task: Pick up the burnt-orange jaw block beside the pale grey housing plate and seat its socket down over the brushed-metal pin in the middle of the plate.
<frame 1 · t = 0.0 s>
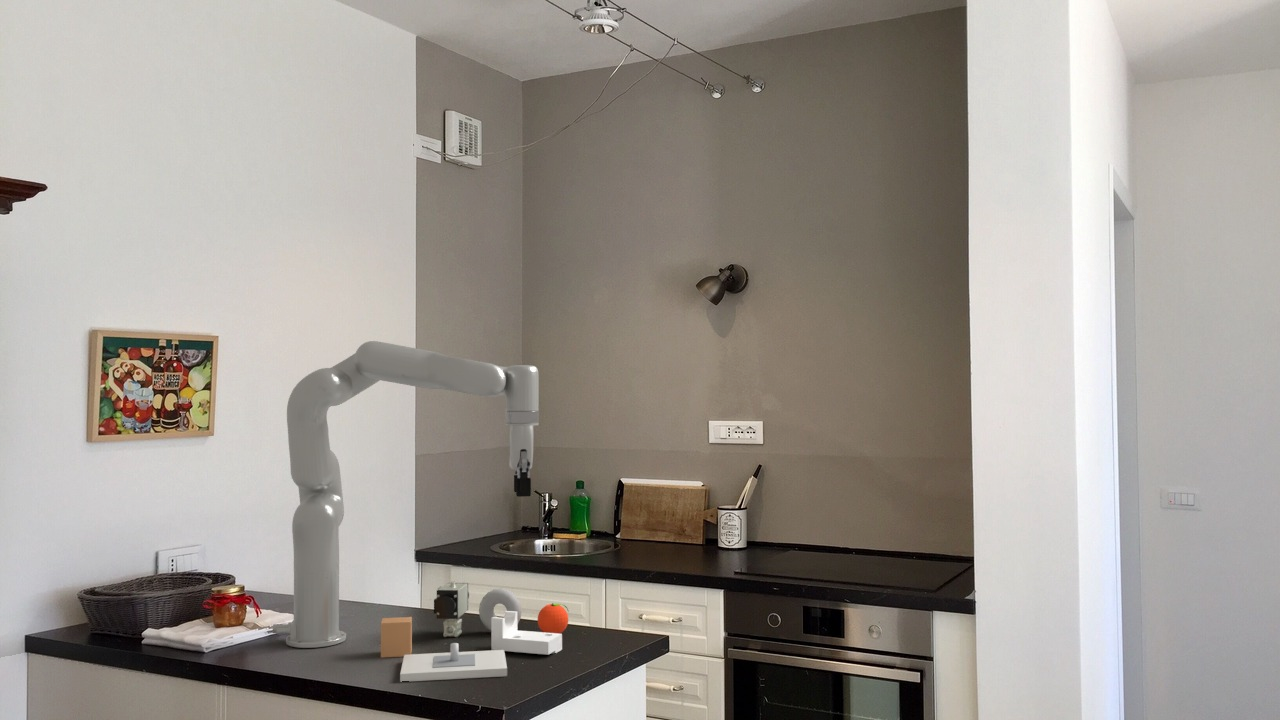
hand: (522, 494, 228), 31 cm above the worktop, tool pointing down, fingers open, 9 cm apart
clementine: (554, 635, 224), on the worktop
jaw block: (396, 653, 209), on the worktop
housing plate: (454, 669, 197), on the worktop
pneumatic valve: (450, 636, 224), on the worktop
bracket: (527, 653, 210), on the worktop
donut: (500, 633, 226), on the worktop
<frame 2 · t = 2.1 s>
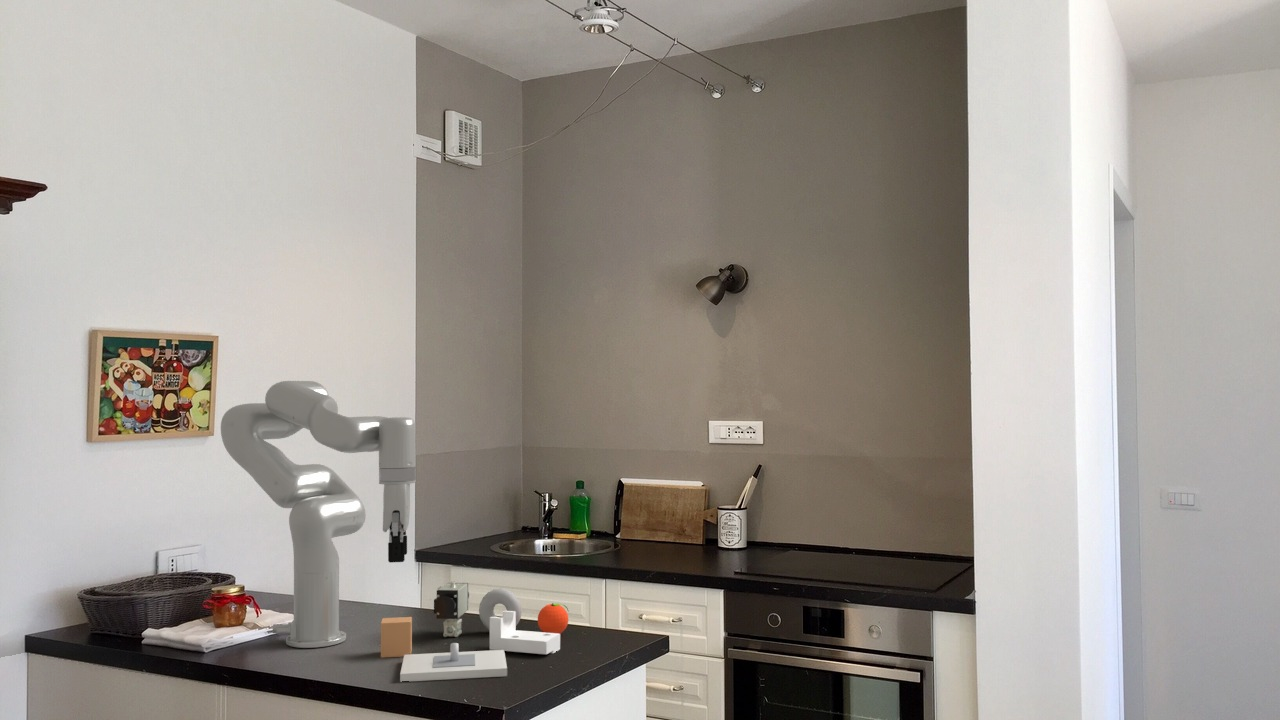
hand: (397, 558, 209), 20 cm above the worktop, tool pointing down, fingers open, 9 cm apart
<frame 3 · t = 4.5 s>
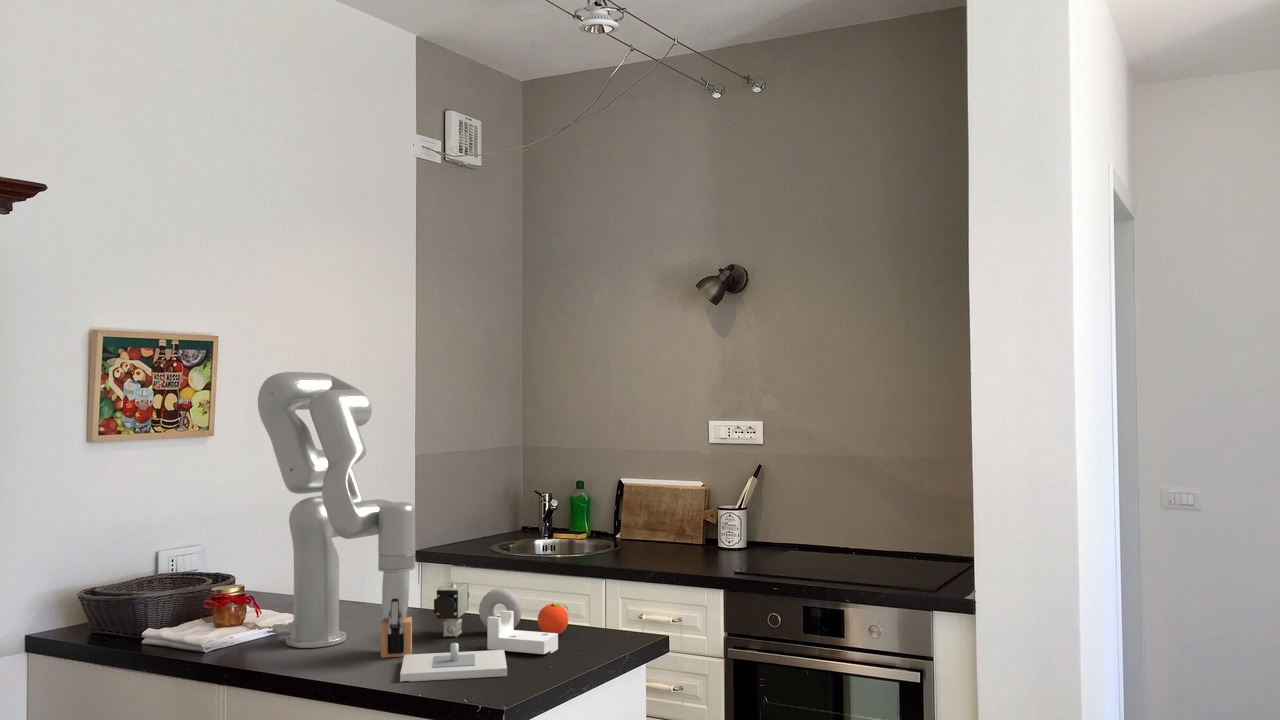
hand: (396, 648, 209), 1 cm above the worktop, tool pointing down, fingers closed on jaw block, 4 cm apart
jaw block: (396, 653, 209), on the worktop, touching gripper
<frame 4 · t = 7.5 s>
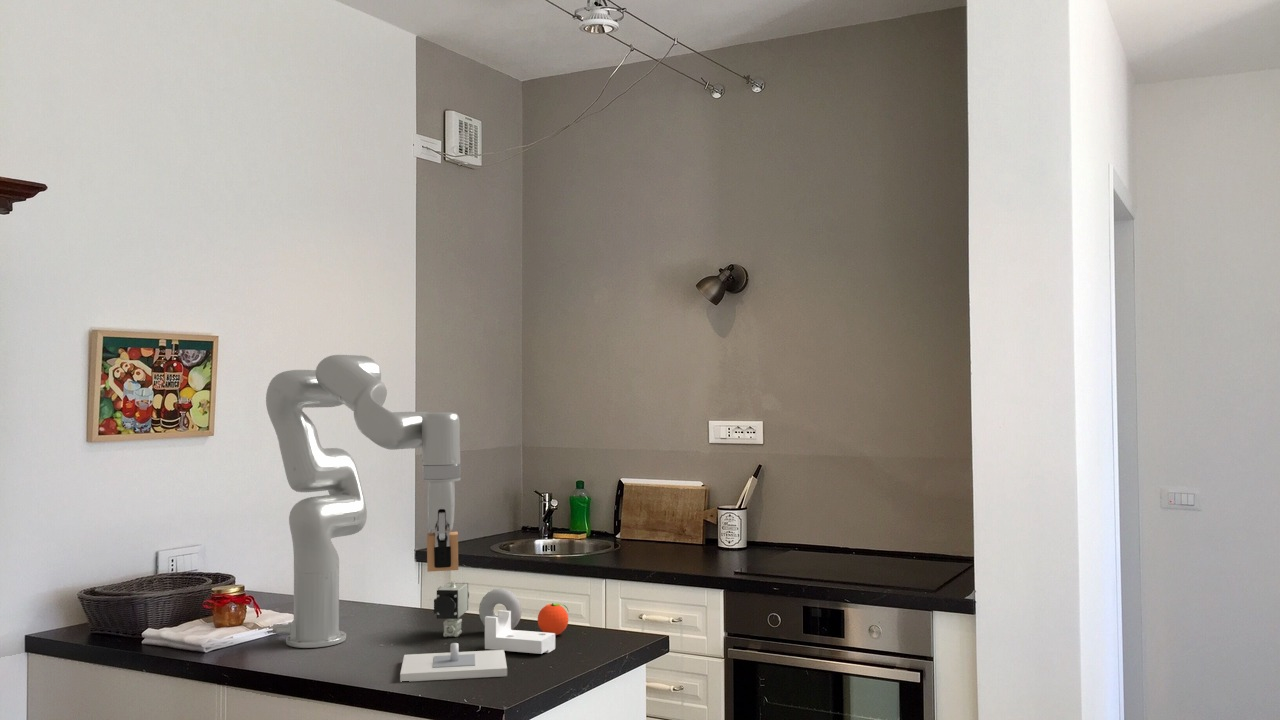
hand: (443, 564, 200), 20 cm above the worktop, tool pointing down, fingers closed on jaw block, 4 cm apart
jaw block: (443, 568, 200), point 19 cm above the worktop, touching gripper
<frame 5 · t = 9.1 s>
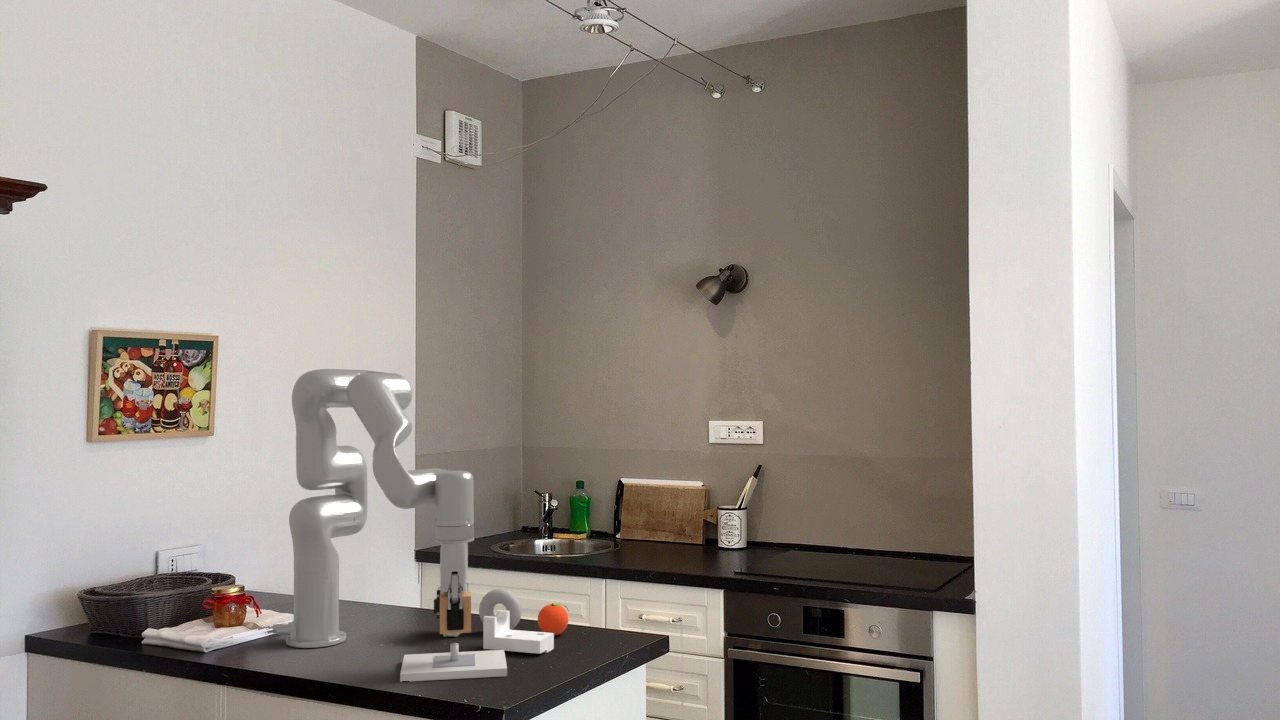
hand: (455, 625, 197), 9 cm above the worktop, tool pointing down, fingers closed on jaw block, 4 cm apart
jaw block: (455, 630, 197), point 8 cm above the worktop, touching gripper
when the fingers open (3 cm above the worktop, at t = 10.6 s): jaw block stays where it is, resting on housing plate.
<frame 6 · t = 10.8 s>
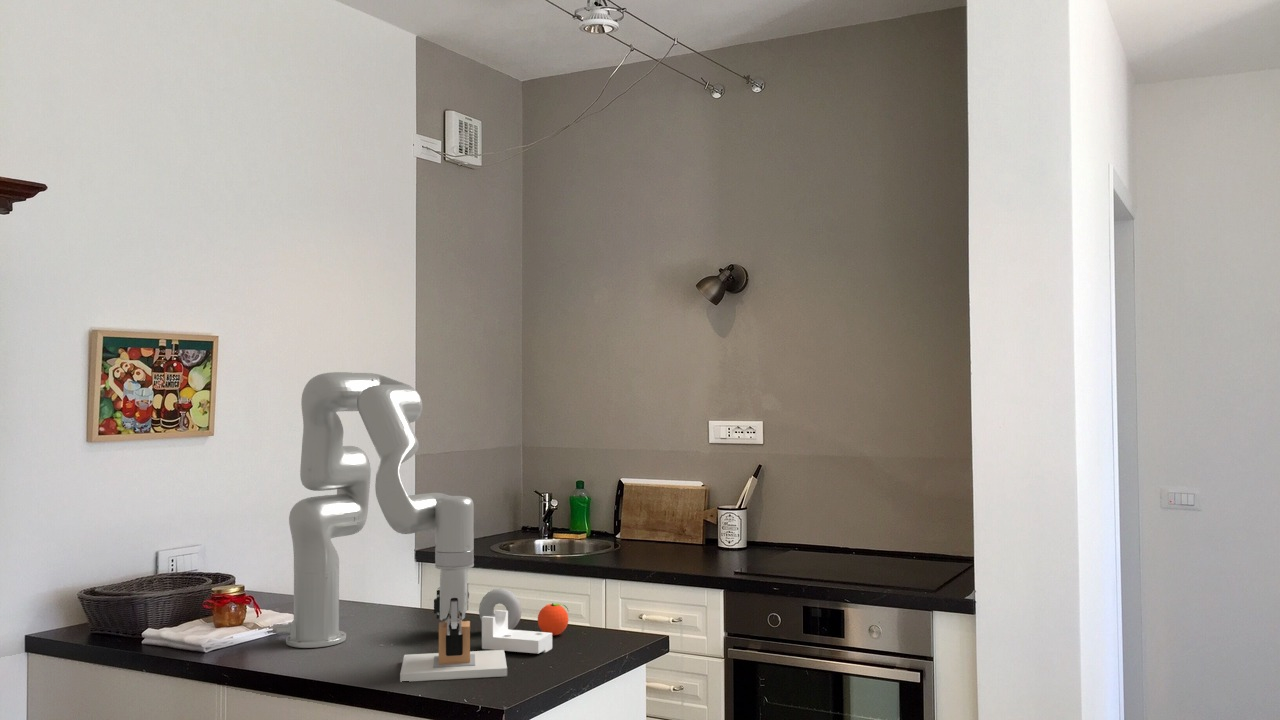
hand: (454, 649, 197), 4 cm above the worktop, tool pointing down, fingers open, 6 cm apart
jaw block: (454, 660, 197), point 2 cm above the worktop, touching housing plate
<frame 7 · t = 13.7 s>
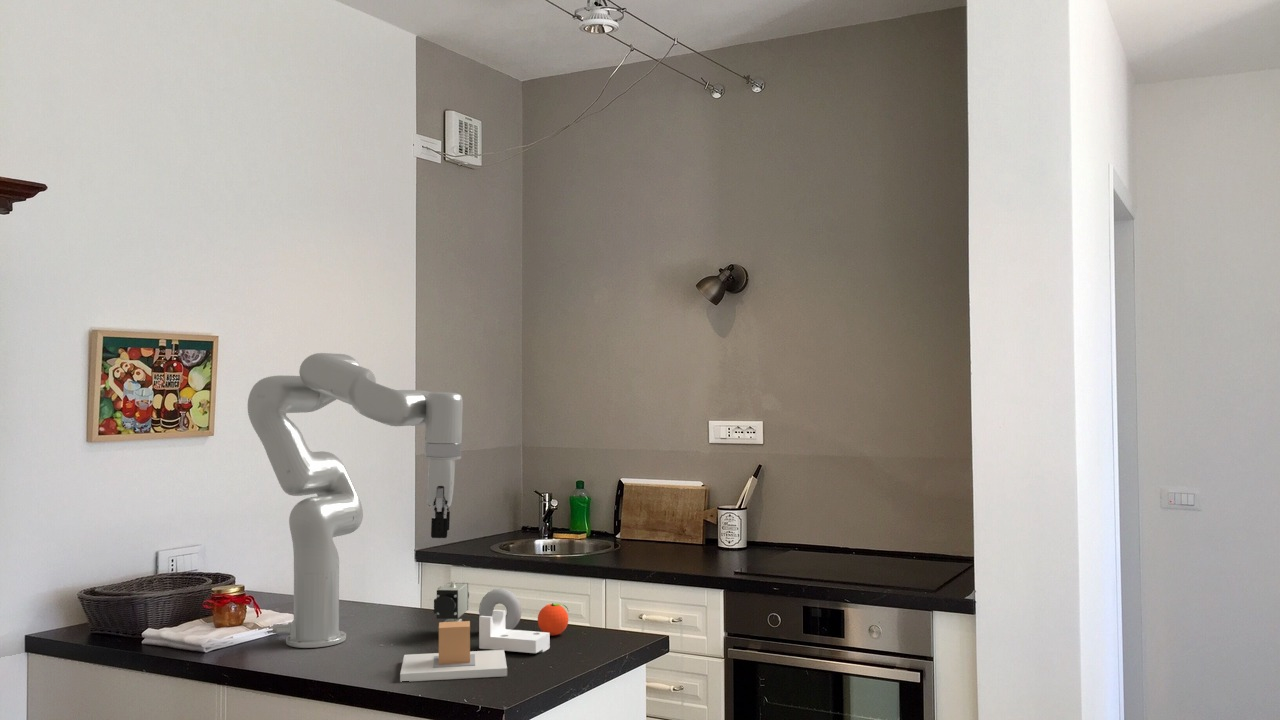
hand: (440, 533, 208), 25 cm above the worktop, tool pointing down, fingers open, 9 cm apart
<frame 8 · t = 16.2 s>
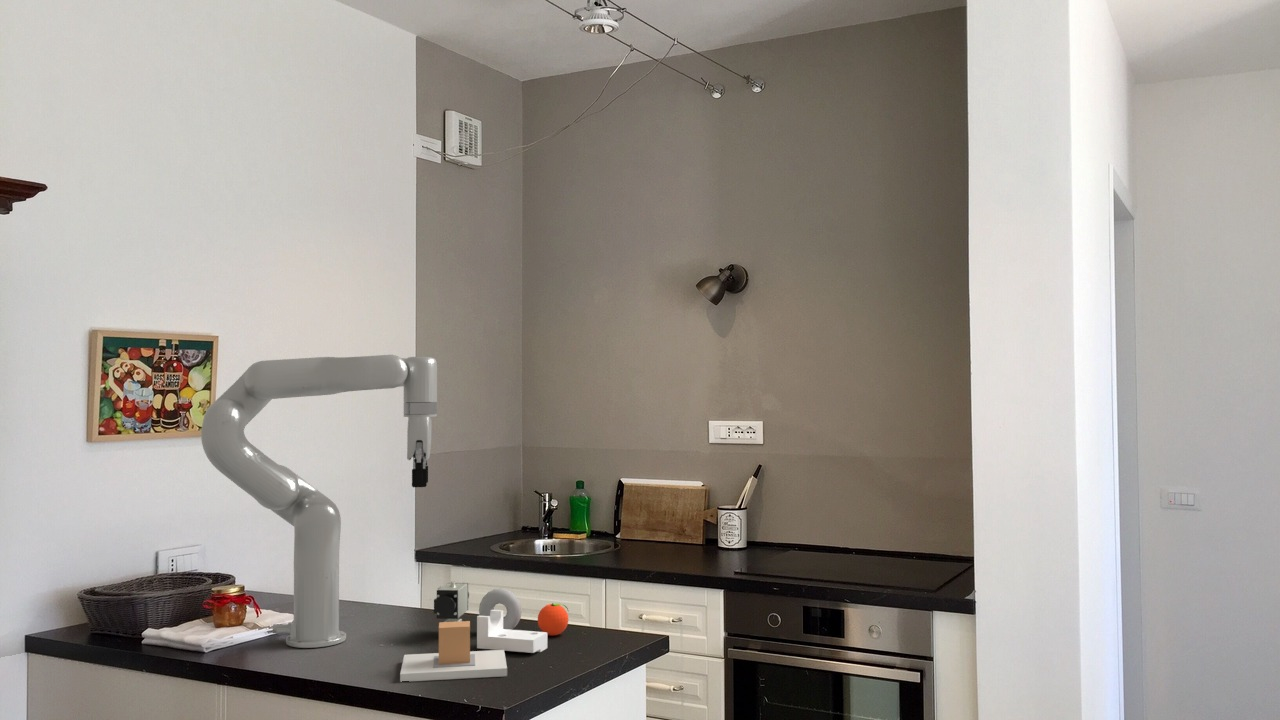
hand: (420, 485, 229), 33 cm above the worktop, tool pointing down, fingers open, 9 cm apart
at the end: jaw block 0.1 cm off-centre on the housing plate, point 1.7 cm above the housing plate's base; jaw block tilted 0°; the gripper is holding nothing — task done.
